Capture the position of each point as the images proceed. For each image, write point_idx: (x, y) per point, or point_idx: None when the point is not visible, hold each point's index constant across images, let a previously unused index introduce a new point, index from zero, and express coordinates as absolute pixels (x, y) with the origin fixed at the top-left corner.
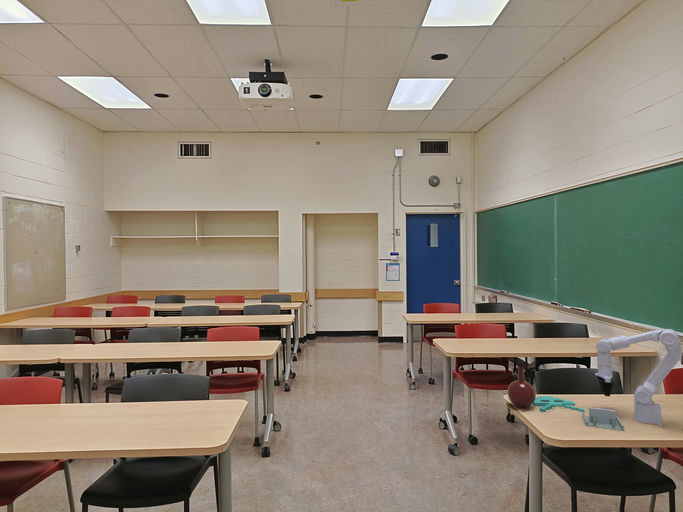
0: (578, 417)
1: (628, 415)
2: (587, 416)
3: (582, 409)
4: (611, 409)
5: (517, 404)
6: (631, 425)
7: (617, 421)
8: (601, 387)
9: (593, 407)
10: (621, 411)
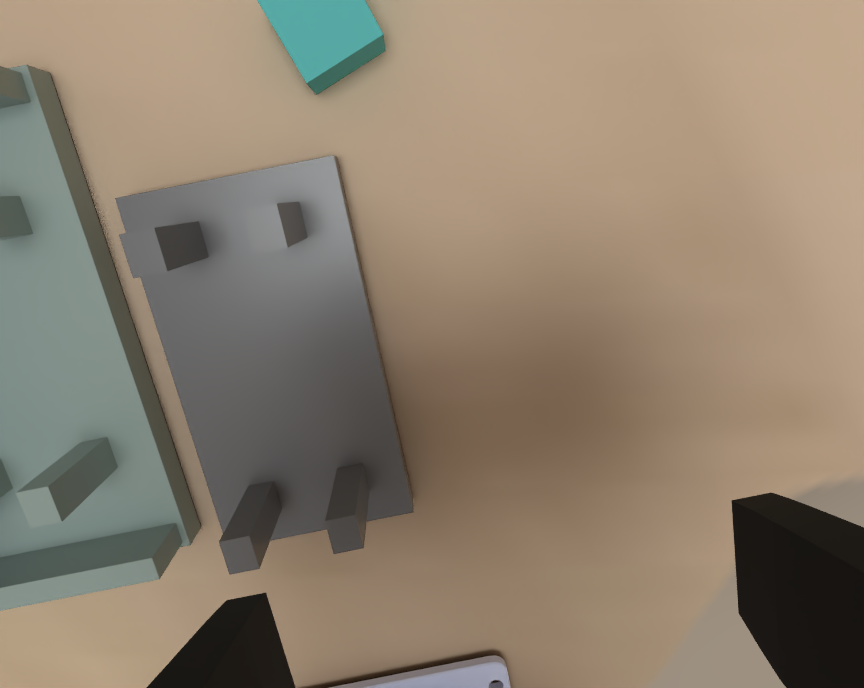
0: (21, 12)
1: (577, 612)
2: (42, 155)
3: (300, 45)
4: (340, 518)
5: None
6: None
7: (45, 557)
8: (821, 569)
9: (260, 245)
10: (709, 541)
